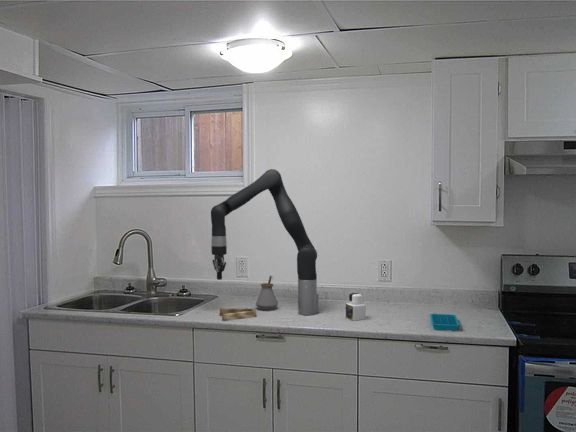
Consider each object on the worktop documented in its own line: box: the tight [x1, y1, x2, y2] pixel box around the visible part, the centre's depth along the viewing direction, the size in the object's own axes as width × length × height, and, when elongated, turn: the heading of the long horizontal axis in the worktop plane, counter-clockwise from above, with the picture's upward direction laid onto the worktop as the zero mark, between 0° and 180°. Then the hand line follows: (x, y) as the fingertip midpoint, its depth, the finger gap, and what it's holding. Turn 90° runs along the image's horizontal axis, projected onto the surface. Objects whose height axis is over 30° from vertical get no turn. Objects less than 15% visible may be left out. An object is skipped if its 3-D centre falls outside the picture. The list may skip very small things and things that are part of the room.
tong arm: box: [219, 307, 253, 316], centre depth 257 cm, size 17×2×3 cm, turn 89°
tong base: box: [221, 308, 257, 322], centre depth 251 cm, size 18×3×3 cm, turn 119°
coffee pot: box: [255, 275, 279, 312], centre depth 275 cm, size 21×12×15 cm, turn 173°
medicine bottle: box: [345, 292, 367, 322], centre depth 249 cm, size 7×7×12 cm
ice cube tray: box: [429, 313, 460, 332], centre depth 236 cm, size 12×20×3 cm, turn 167°
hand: (219, 279), depth 262 cm, fingers closed
